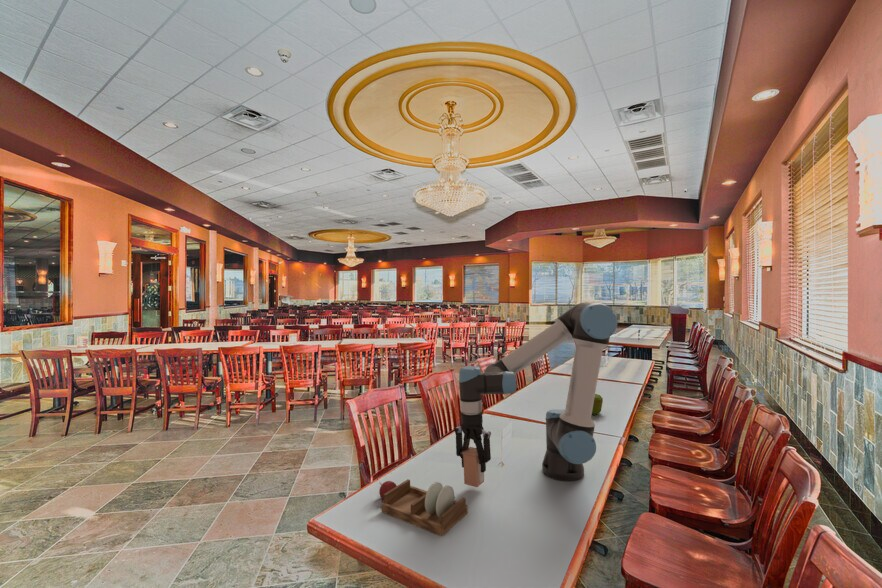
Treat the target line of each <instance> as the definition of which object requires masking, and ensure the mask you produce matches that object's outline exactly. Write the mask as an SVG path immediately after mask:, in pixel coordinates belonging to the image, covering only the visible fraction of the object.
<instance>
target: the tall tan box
mask: <svg viewBox="0 0 882 588" xmlns="http://www.w3.org/2000/svg"><path fill="white" fill-rule="evenodd" d="M462 454H463V462H464V468H463V480H464V481H463V483H464V485H468V486H470V487H473V488H478V487H479V486H480V485H482V484H483V483H484V482H485V479H484V480H483V481H482V482H481V483H479V480H478V463H479V462H480V461H479V457H478V453H477V449H476V447H474V446H469V448H468V449H467V450H465V451H463V452H462Z"/></svg>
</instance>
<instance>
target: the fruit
mask: <svg viewBox="0 0 882 588" xmlns="http://www.w3.org/2000/svg"><path fill="white" fill-rule="evenodd" d="M376 481H379V480H378V478H376ZM379 485H380V487H379V491H378V493H379V494H378V495H379V497H380V498H381V499H382V500H383V501H384V494H385V493H387V492H388V491H390V490H391V489H393V488H395V487H396V486H398V484H396V483H395V482H394V481H392V480H387V481H384V482H383V483H381V482H380V481H379Z"/></svg>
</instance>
